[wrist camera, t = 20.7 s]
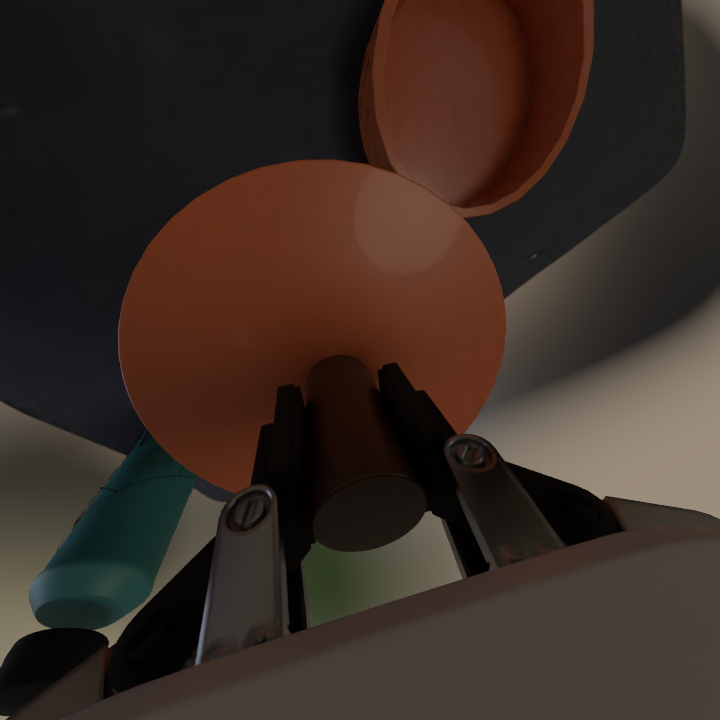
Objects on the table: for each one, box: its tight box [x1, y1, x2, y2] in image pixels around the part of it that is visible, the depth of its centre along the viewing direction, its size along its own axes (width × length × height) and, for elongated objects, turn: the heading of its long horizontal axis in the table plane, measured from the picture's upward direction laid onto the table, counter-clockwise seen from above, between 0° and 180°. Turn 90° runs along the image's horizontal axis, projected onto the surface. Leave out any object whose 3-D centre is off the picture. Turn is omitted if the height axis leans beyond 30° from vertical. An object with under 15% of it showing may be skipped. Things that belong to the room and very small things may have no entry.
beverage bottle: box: [0, 428, 199, 716], centre depth 22 cm, size 6×7×20 cm
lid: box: [118, 159, 506, 552], centre depth 10 cm, size 16×16×7 cm
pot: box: [358, 0, 594, 218], centre depth 20 cm, size 15×15×5 cm
